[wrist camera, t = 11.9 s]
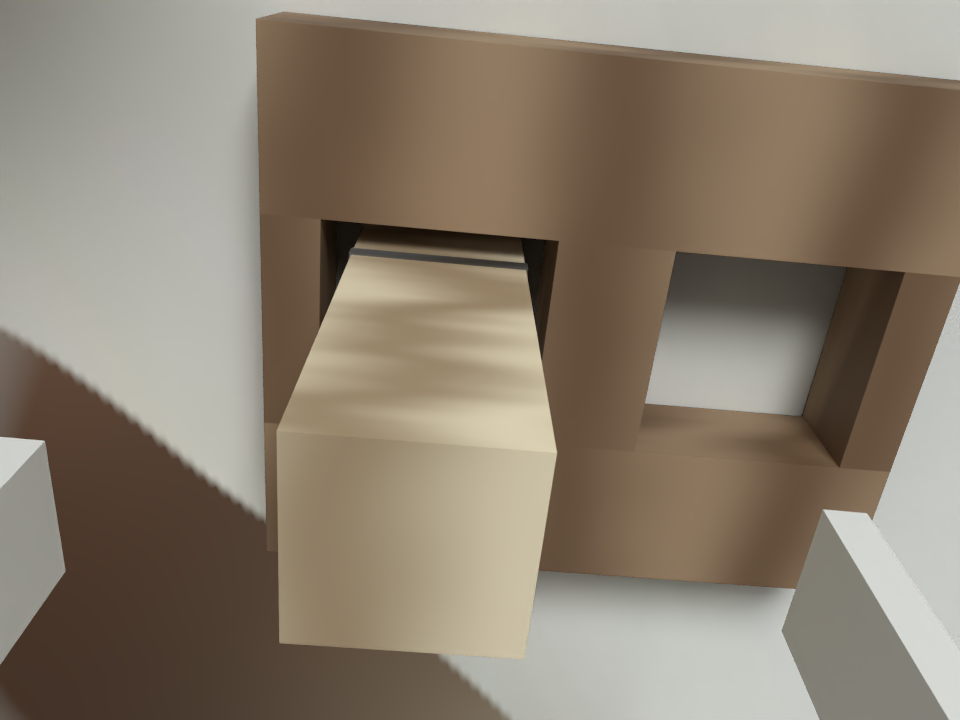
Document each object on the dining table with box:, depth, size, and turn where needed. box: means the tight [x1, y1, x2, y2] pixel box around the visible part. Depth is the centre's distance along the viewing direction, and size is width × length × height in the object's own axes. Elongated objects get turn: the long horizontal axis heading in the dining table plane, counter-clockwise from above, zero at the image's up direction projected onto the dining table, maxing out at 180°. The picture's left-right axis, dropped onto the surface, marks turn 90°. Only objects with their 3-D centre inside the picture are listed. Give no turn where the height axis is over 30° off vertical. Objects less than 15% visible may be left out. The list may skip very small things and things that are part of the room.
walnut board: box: [256, 12, 960, 589], centre depth 24 cm, size 18×15×3 cm
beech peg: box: [277, 223, 557, 659], centre depth 19 cm, size 4×4×12 cm
